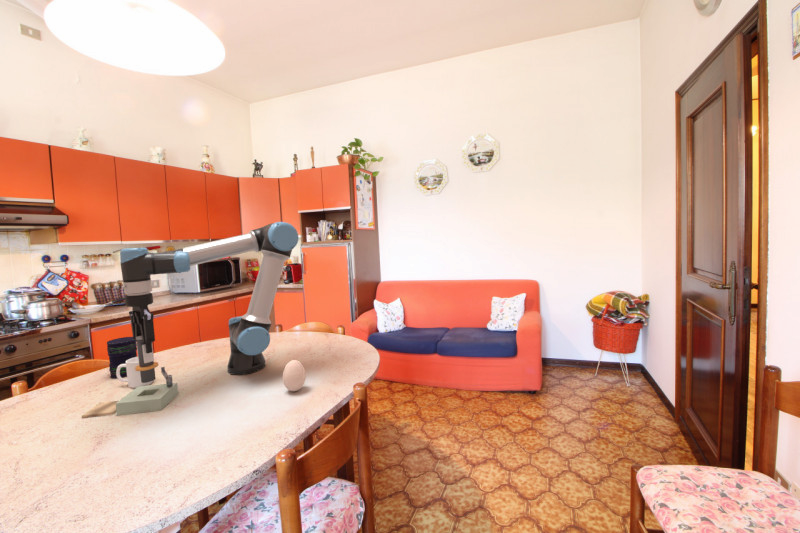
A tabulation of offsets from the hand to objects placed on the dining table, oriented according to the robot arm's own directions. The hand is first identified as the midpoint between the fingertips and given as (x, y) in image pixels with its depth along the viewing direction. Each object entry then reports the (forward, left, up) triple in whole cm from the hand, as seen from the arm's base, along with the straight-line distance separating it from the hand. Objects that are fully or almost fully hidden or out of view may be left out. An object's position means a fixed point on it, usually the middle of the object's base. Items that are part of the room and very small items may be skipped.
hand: (146, 360), depth 119 cm
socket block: (0, 0, -15) cm, 15 cm away
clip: (-2, -7, -11) cm, 13 cm away
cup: (+14, -20, -16) cm, 29 cm away
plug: (0, 0, -7) cm, 7 cm away
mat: (+13, +1, -15) cm, 20 cm away
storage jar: (+25, -34, -16) cm, 45 cm away
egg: (-49, +3, -16) cm, 51 cm away
